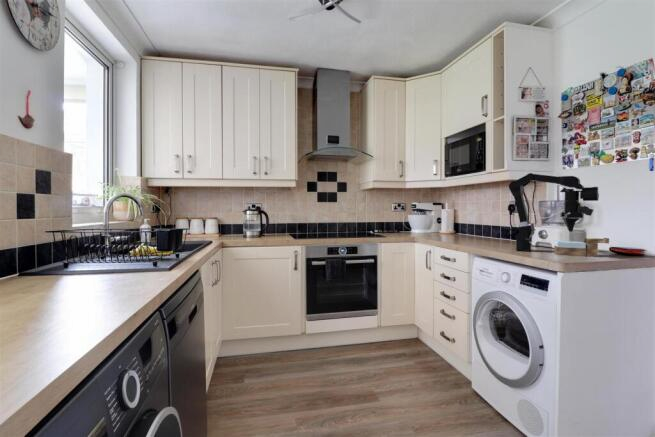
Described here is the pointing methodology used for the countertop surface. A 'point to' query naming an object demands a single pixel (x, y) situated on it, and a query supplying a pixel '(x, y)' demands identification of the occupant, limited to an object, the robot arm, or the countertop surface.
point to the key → (601, 240)
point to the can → (577, 235)
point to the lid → (570, 244)
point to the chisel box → (580, 249)
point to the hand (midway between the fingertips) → (570, 231)
